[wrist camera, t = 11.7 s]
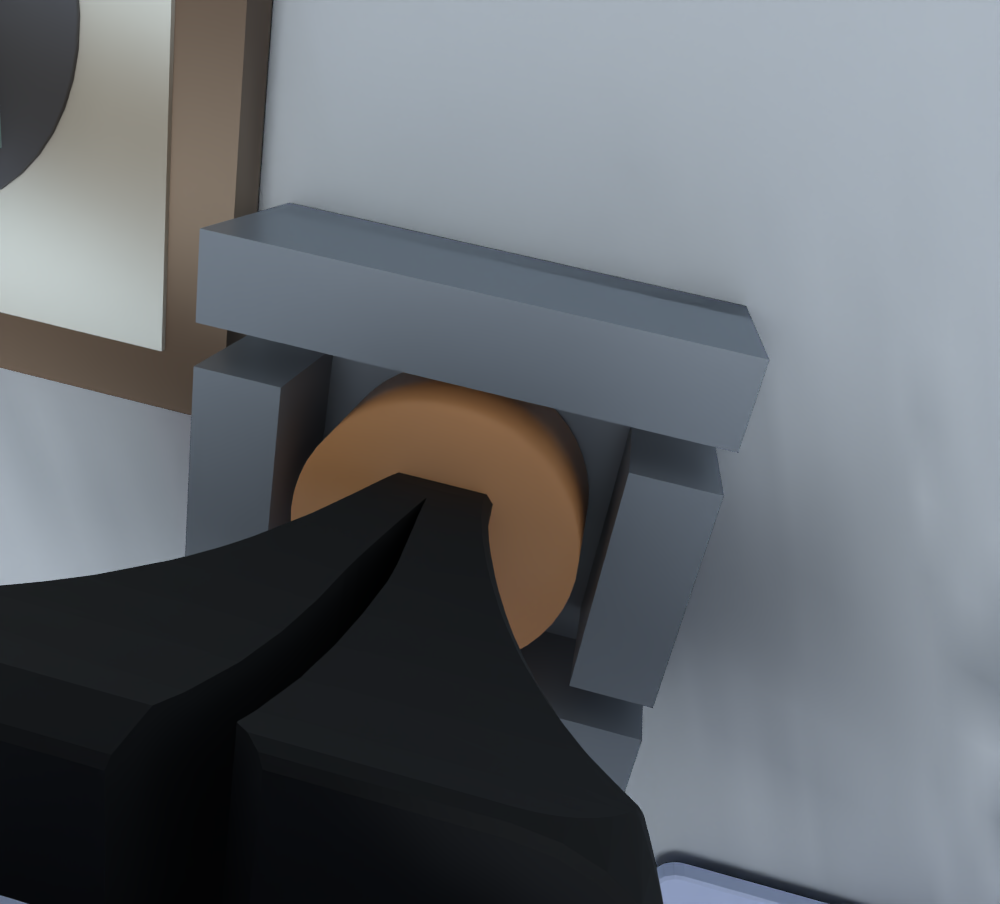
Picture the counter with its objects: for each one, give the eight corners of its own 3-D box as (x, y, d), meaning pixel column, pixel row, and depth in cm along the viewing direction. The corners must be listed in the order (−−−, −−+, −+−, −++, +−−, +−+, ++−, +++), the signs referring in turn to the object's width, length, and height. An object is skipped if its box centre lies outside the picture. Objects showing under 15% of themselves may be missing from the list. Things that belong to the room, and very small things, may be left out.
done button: (557, 625, 14) (544, 696, 12) (322, 565, 14) (279, 625, 13) (617, 399, 12) (611, 445, 11) (351, 335, 13) (305, 371, 11)
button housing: (626, 684, 15) (620, 801, 13) (256, 585, 16) (179, 680, 13) (746, 305, 12) (769, 360, 10) (289, 203, 13) (200, 228, 10)
